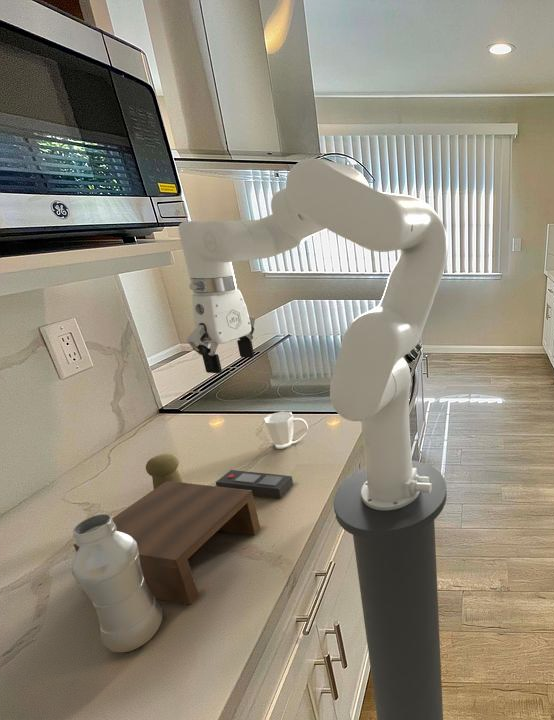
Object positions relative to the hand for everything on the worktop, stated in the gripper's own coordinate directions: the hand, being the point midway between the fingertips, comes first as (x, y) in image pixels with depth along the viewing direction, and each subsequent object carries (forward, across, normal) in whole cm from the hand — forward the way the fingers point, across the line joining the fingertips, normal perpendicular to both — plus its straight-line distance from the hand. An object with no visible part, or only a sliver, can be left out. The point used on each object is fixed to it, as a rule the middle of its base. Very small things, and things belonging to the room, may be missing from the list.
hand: (231, 364), depth 86 cm
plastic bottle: (+26, -39, -12) cm, 49 cm away
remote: (+26, -7, -6) cm, 28 cm away
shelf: (+26, -26, -6) cm, 37 cm away
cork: (+26, -14, +8) cm, 31 cm away
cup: (+26, +11, -2) cm, 29 cm away
